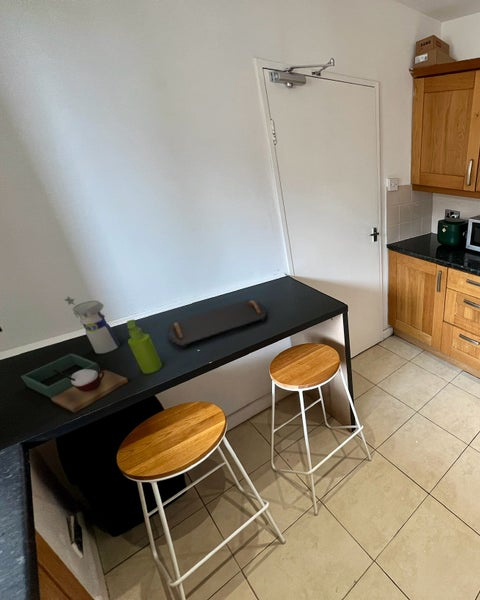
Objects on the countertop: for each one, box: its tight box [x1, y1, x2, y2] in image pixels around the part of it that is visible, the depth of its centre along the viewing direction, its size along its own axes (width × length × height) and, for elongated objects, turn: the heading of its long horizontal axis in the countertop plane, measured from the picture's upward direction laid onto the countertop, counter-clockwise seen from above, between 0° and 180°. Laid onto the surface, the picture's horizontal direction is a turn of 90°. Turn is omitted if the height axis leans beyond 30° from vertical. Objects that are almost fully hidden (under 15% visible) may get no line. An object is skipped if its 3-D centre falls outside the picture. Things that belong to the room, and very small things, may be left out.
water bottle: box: [64, 296, 121, 354], centre depth 119 cm, size 8×9×25 cm
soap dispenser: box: [126, 319, 163, 375], centre depth 109 cm, size 6×7×20 cm
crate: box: [20, 352, 102, 399], centre depth 107 cm, size 14×16×4 cm
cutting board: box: [50, 369, 129, 414], centre depth 103 cm, size 15×12×2 cm
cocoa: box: [50, 368, 104, 392], centre depth 100 cm, size 10×6×12 cm, turn 133°
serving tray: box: [167, 299, 267, 349], centre depth 138 cm, size 39×23×6 cm, turn 131°
